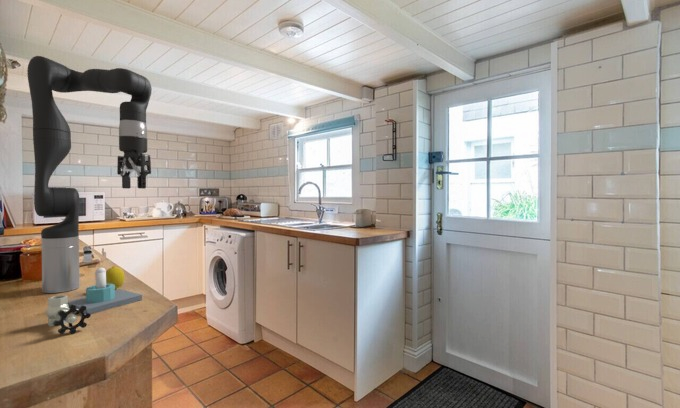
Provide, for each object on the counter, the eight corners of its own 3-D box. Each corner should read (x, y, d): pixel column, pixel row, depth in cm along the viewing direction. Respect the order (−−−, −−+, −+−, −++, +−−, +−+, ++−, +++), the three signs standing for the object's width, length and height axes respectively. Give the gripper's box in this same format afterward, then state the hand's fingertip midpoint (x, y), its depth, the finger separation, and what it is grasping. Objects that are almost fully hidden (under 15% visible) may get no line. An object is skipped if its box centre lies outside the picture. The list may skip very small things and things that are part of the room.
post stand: (65, 307, 90) (64, 269, 89) (119, 293, 102) (119, 260, 102) (87, 315, 84) (86, 274, 84) (142, 299, 96) (141, 264, 96)
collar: (82, 300, 91) (81, 287, 91) (107, 294, 97) (107, 282, 96) (93, 304, 88) (93, 291, 88) (119, 297, 93) (119, 285, 93)
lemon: (114, 293, 102) (113, 268, 102) (99, 292, 103) (99, 267, 103) (129, 288, 107) (128, 264, 107) (115, 287, 109) (114, 263, 108)
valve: (37, 326, 77) (54, 339, 70) (36, 299, 77) (54, 309, 70) (72, 317, 82) (91, 329, 76) (71, 292, 82) (90, 301, 75)
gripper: (108, 136, 102) (108, 188, 102) (133, 132, 95) (134, 188, 96) (132, 140, 109) (133, 188, 109) (158, 136, 102) (159, 188, 102)
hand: (133, 188), depth 102 cm, fingers open, 8 cm apart
